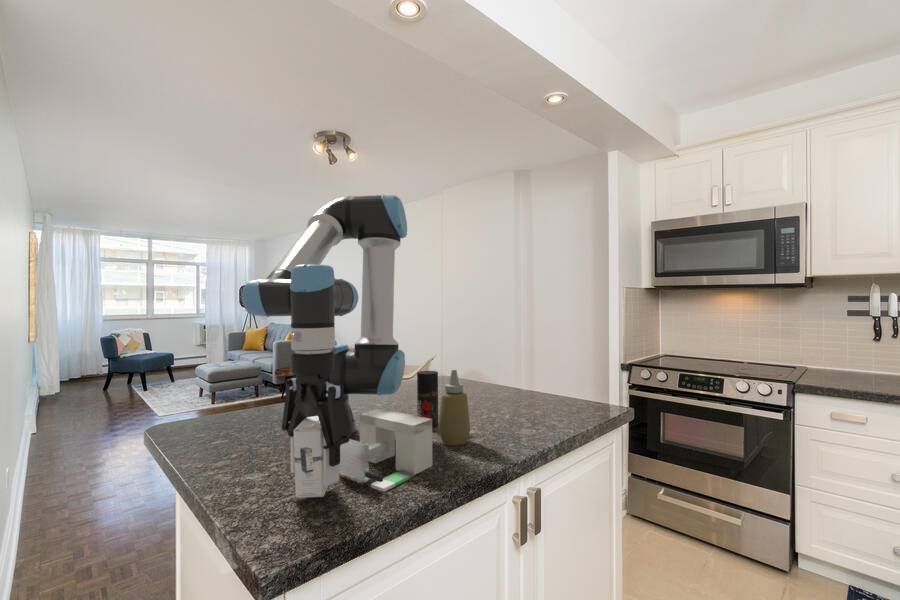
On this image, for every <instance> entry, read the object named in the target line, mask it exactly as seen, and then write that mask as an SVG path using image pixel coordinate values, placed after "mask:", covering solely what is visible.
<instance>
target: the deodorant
mask: <svg viewBox="0 0 900 600" xmlns="http://www.w3.org/2000/svg"><path fill="white" fill-rule="evenodd" d="M416 393H417V394H416V397H417V399H416V401H417V405H416V408H417V411H416V413H417V415H416V416H419V417H424V418H429V419H432V429H434V428H436V427H437V428H438V426H439V371H436V370H420V371H417V372H416Z"/></svg>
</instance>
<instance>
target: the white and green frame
mask: <svg viewBox="0 0 900 600" xmlns="http://www.w3.org/2000/svg"><path fill="white" fill-rule="evenodd" d="M380 441H385V442H389V452H387V453H385V454H382V455H380V456H377V457H375V458H373V459H370V460H369V463H373V464H378V463H380V462H382V461H385V460H387V459H390V458H392V457H394V456H395V470H396V472H393V473H392V474H389V475H387V476H385V477H383V481H382V482H379V481H376V480H375V481H374V482H371V484H370V488H372V489H375V490H377V491H380V492H383V493H384V492H386V491H388V490H390V489H393V488H394V487H396V486H398V485H400V484H402V483H404V482H406V481H408V480H410V479H412V478H415V475H417V474H419V473H421V472H424V471H426V470H427V469H429V468H431V467H433V428H432V419H429V418H424V417H419V416H417V415H415V414H408V413H405V412H398V411H393V410H389V409H383V408H376V409H373V410H368V411H365V412H362V413H359V442H362V443H366V444H369V445H372V444H374V443H377V442H380Z"/></svg>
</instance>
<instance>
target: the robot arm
mask: <svg viewBox="0 0 900 600" xmlns="http://www.w3.org/2000/svg"><path fill="white" fill-rule="evenodd" d="M406 215H407V214H406V212H405V207H404V204H403V202H402V200H401V198H400V197H398V195H393V194H380V195H377V194H376V195H358V196H357V195H355V196H350V195H349V196H343V197H339V198H336V199H334V200H332V201H330V202H328V203H327V204H325V205H323V206H322V207H321V208H319V209H318V210H317V211H316V212H315V213H314V214H313V215H312V216H311V217H309V220H308V221H307V227H306V230H305V231H304V232H303V233H302V235H300V237H299V238H298V239H297V240H296V242H295V243H294V244H293V246H291V248H290V249H289V250H288V251H287V253H286V254H285V255H284V256H283V257H282V259H281V260H280V261H279V262H278V263H277V265H275V267H274V269H272V270H271V272H270V273H269V274H268V276H266V278H265V279H261V278H258V279H254V280H250V281H248V282H246V284H245V285H244V287H243V290H242V294H241V299H242V300H241V302H242V304H243V307H244V309H245V311H246V312H247V313H248V314H249V315H252V316H258V317H259V316H261V317H267V318H269V317H290V320H291V321H290V322H291V323H290V327H291V329H290V331H291V332H290V338H291V339H290V342H291V345H290V349H291V350H292V351H294V352H293V353H292V354H291V355H290V371H291V372H290V373H291V374H293V375H294V376H296V377H295V378H289V379H285V399H284V406H283V415H282V421H281V422H282V423H281V430H282V431H283V432H285V431H286V432H287V435H288V437H289V451H290V473H291V474H295V458H294V429H295V428H296V427H297V426H298V425H299V424H300V423H301V422H302V421H303V420H304V419H305V418H307V417H312V416H318V418H319V421H320V424H321V427H322V431H323V435H324V438H325V441H326V446H324V447H323V485H324V486H328V487H329V486H330V485H333V484H336V483H338V482H339V481H340V474H339V464H340V446H341V445H342V444H345V443H347V442H349V439H350V436H351V435H353V434H354V433H355V432H356V421H355V418H354V414H353V412H352V408H351V405H350V400H349V395H368V396H369V395H377V396H379V397H380V396H383V395H385V396H387V395H388V396H389V395H394V394H396V393H397V392H398V391H399V389H400V387H401V384H402V382H403V378H404V373H405V368H406V367H405V366H406V359H405V358H406V357H405V352H404V351H403V350H402V349H399V343H398V341H397V340H396V339H395V338H394V308H395V307H394V306H395V305H394V304H395V303H394V302H395V301H394V299H395V297H394V296H395V264H396V263H395V259H396V256H395V255H396V253H395V252H396V250H397V249H398V248H399V247H401V239H404V238H406V237H407V235H408V221H407V217H406ZM348 239H349V240H353V239H355V240H357V244H358V245H359V247H361V249H362V278H361V279H362V280H361V283H362V284H361V312H360V313H361V314H360V315H361V316H360V337H359V339H357V340H356V341H355V342H354V349H351V350H350V347H349V345H348V344H338V345H336V331H335V330H336V326H335V325H336V324H335V319H336V318H335V317H342V316H346V315H347V314H350V313H351V312H352V313H353V311H354V309H355V308H356V307H357V305H358V302H359V293H358V290H357V288H356V287H355V285H354V284H353V283H351V281H350V282H349V281H348V280H344V278H335V270H334V267H332V266H330V265H327V264H326V265H324V264H322V263H323V261H324V260H325V258H326V257H327V255H328V254H329V252H330V251H331V249H332V248H333V247H335V246H337V245H339V243H341V242H342V241H343V240H348Z"/></svg>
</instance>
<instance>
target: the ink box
mask: <svg viewBox="0 0 900 600" xmlns="http://www.w3.org/2000/svg"><path fill="white" fill-rule="evenodd" d="M324 446H326V441H325V438H324V435H323V431H322V427H321V424H320V421H319V418H318V416H312V417H307V418H305V419H304V420H303V421H302V422H301V423H300V424H299V425H298V426H297V427H296V428H295V429H294V458H295V473H294V479H295V480H294V482H295V483H294V485H295V487H294V488H295V498H300V499H301V498H323V497H324V496H325V495H326V492H327V490H328V487H329V485H328V486H324V485H323V447H324Z"/></svg>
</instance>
